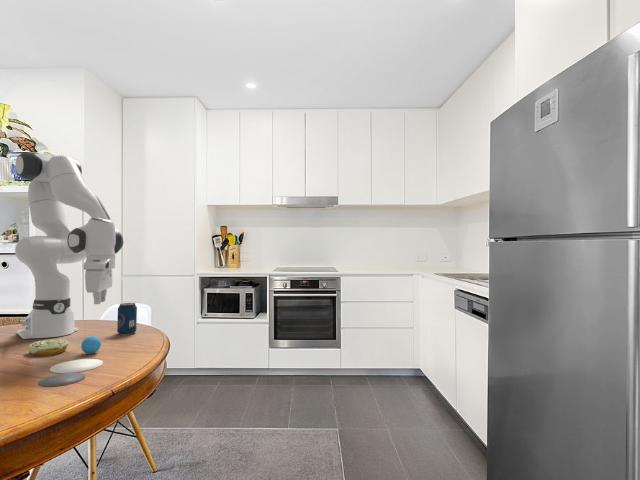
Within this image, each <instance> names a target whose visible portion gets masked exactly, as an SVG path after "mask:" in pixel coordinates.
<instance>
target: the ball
mask: <svg viewBox="0 0 640 480" xmlns="http://www.w3.org/2000/svg"><path fill="white" fill-rule="evenodd" d="M101 346H102V341H101V340H100V337H99V338H98V337H97V336H94V335H93V336H92V335H91V336H88V337H86V338H84V339H83V340H82V342H81V345H80V347H81V348H80V349H81V351H82V352H84V354H89V355H92V354H94V353H97V352H98V351H99V350H100V348H101Z"/></svg>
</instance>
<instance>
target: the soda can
mask: <svg viewBox="0 0 640 480" xmlns="http://www.w3.org/2000/svg"><path fill="white" fill-rule="evenodd" d="M137 318H138V307H137V305H136V303H135V302H124V303H123V302H122V303H119V306H118V308H117V321H116V322H117V328H116V329H117V331H116V332H117V333H118V335H120V336H130V335H133V334H134V335H135V334H136V332H137V324H138V323H137V320H138V319H137Z"/></svg>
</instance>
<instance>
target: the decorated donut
mask: <svg viewBox="0 0 640 480" xmlns="http://www.w3.org/2000/svg"><path fill="white" fill-rule="evenodd" d="M68 343H69V342H68V341H67V340H66V339H60V338H58V339H57V338H51V339H49V338H48V339H44V340H38V341H34V342H33V343H31V344H29V345H28V351H29V353H30V354H31V355H32V356H36V357H50V356H54V355H58V354H62V353H63V352H65V351H66V350H67V349H68V346H69V344H68Z"/></svg>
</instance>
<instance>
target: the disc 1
mask: <svg viewBox="0 0 640 480" xmlns="http://www.w3.org/2000/svg"><path fill="white" fill-rule="evenodd" d="M85 378H86V375H85V374H84V373H83V372H76V373H57V374H53V375H50V376H47V377H44V378H42V379H40V380H39V381H38V385H39V386H40V387H45V388H47V387H48V388H51V387H53V388H54V387H55V388H56V387H61V386H68V385H72V384H75V383H78V382H81V381H82V380H84V379H85Z"/></svg>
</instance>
